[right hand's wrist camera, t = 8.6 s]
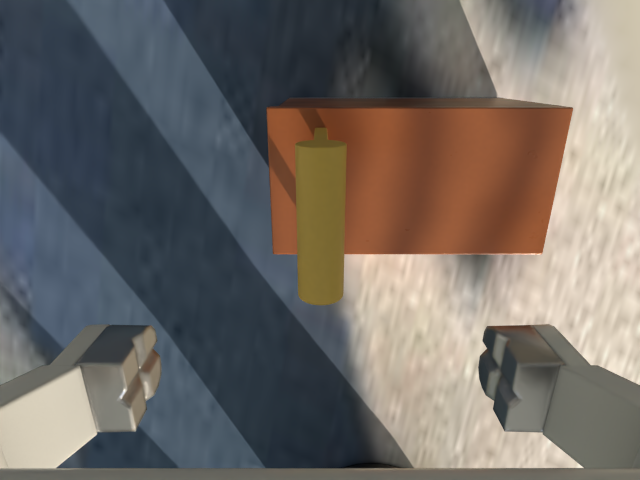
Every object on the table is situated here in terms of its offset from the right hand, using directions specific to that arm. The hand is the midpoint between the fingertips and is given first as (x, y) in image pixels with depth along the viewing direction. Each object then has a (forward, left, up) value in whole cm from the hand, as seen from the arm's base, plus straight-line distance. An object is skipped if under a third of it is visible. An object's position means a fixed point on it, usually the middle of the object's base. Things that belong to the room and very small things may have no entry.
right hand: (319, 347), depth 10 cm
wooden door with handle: (+3, +5, -17) cm, 18 cm away
